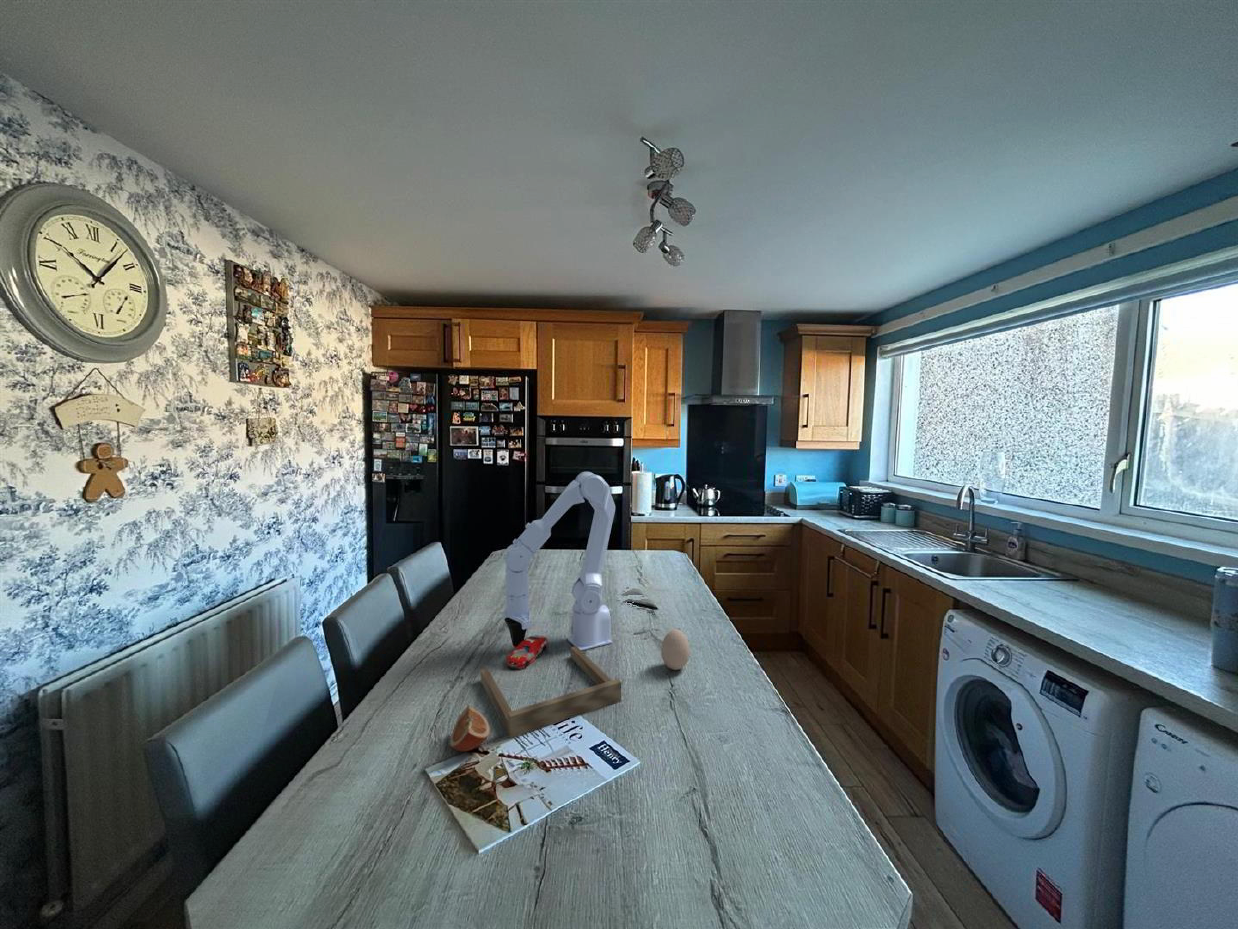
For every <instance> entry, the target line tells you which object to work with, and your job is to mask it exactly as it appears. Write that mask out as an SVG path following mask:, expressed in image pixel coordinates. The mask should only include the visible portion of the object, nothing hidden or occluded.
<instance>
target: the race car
mask: <svg viewBox="0 0 1238 929" xmlns="http://www.w3.org/2000/svg"><path fill="white" fill-rule="evenodd" d="M548 646H549V645H548V639H547V637H546V636H543V635H539V634H538V635H537V634H534V635H531V636H528V637H525V638H524V640H523V641H522V642H521V643H520V644H519V645H518V646H517V647H513V648H514V650H513V651H512V652H511V653H510V654H509V655H508V656H507V657H506V661H505V663H506V666H507V667H508V668H510V669H513V670H514V669H515V670H516V669H517V670H520V669H527V668H528V667H529V666H530V665H531V664H532V663H533V662H534V661H535V660H537V659H538V658H539V657H540V656H541V655H543V654H544V653H545V652H546V651H547V649H548Z"/></svg>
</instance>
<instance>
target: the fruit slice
mask: <svg viewBox="0 0 1238 929" xmlns="http://www.w3.org/2000/svg"><path fill="white" fill-rule="evenodd" d="M490 735H491V727H490V723H489V722H488V720H487V718H486V717H485V716H484V715H483V714H482V713H481V712H480V711H478V710H477V709H476V708H474V707H473V706H471V705H470V704H468V705H467V706H466V708H464V710H462V712H461V713H460V714H459V716H458V717H457V720H456V722H455V725H454V727H453V730H452V733H451V736H450V741H449V746H450V747H451V748H452V749H454V750H456V751H459V752H469V751H472V750H474V749H475V748H477V747H480V746H481V744H483V743H484V742H485V741H486V740H487V739H488V738H489V736H490Z"/></svg>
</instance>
